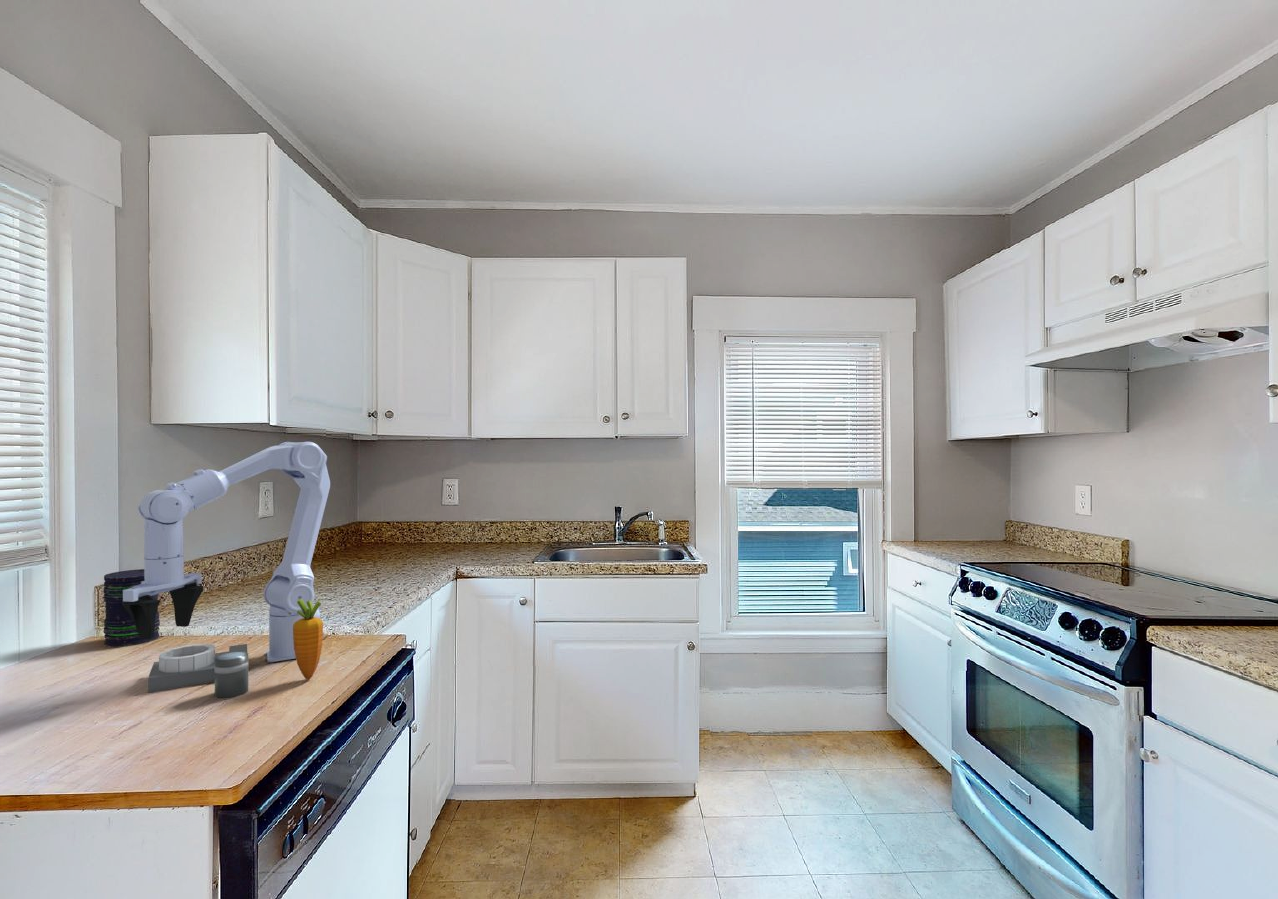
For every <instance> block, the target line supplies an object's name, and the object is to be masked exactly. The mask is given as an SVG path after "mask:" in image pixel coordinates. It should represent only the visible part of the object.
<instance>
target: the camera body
mask: <svg viewBox="0 0 1278 899" xmlns="http://www.w3.org/2000/svg"><path fill="white" fill-rule="evenodd" d="M228 647H229V648H228V649H229V650H228V651H223V652H216V645H214V644H210V643H197V644H196V643H194V644H190V645H189V644H188V645H181V646H177V647H176V646H175V647H174V648H169V649H166V650H165V651H162V652H160V653H159V655H158V661H154V662H153V664H152V667H151V669H150V672H149V675H148V677H147V693H153V692H160V691H165V690H173V689H179V688H184V687H191V686H196V685H202V684H210V683H215V672H214V665H215V660H214V659H215V657H217V656H219V655H222V654H225V653H230V652H247V653H248V643H244V644H237V645H230V646H228Z"/></svg>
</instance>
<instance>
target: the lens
mask: <svg viewBox="0 0 1278 899" xmlns="http://www.w3.org/2000/svg"><path fill="white" fill-rule="evenodd" d="M214 660H215V665H214V672H215V682H214V697H215V698H216V699H222V700H223V699H224V700H226V699H234V698H239V697H241V696H243V695H245V694H247V693H248V692H249V652H248V651H247V652H230V653H225V654H222V655H219V656H217V657H215V659H214Z"/></svg>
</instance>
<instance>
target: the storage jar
mask: <svg viewBox="0 0 1278 899" xmlns="http://www.w3.org/2000/svg"><path fill="white" fill-rule="evenodd" d="M103 580H104V581H103V588H102V589H103V590H102V591H103V592H102V593H103V602H104V603H105V618H104V620H103V625H104V627H103V634H104V635H103V636H104V639H105V640H104V646H105V645H106V647H108V646H110V648H123V647H124V646H125V647H133V646H138V645H143V644H147V643H150V642H153V641H156V640H157V639H159V638H160V633H159V630H160V624H161V622H160V612H159V610H158V609H159V608H158V609H157V612H156V617H155V632H154V637H153V638H152V639H140V637H139V634H138V631H137V629H136V626H135V623H134V621H133V619H132V617H131V616H130V614H129V613H128V611H127V610H126V609H125V608H124V607H123V605H122V600H123V590H126V589H129V588H132V587H135V586H137V585H140V584H141V582H142V581H145V569H144V568H143V569H141V568H140V569H129V570H121V571H116V572H111V573H106V574H104V576H103ZM159 595H160V594H156V595H152V596H150V598H152V600H159V597H158V596H159ZM155 639H156V640H155Z"/></svg>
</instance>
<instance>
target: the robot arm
mask: <svg viewBox="0 0 1278 899" xmlns="http://www.w3.org/2000/svg"><path fill="white" fill-rule="evenodd" d="M327 460H328V456H327V455H326V453H325V452H324V451H323V449H322V448H321V447H320V446H319V445H318V444H317V443H315V442H313V441H304V442H302V441H301V442H294V441H293V442H292V441H285V442H282V443H279V444H278V445H273V446H269V447H267V448H265V449H262V450H261V451H258V452H257V453H254V454H252V455H251V456H249V457H246V458H244V459H242V460H240V461H239V462H236V463H234V464H232V465H230V466H228V467H225V468H224V469H222V470H219V471H218V470H214V469H211V468H210V469H209V468H207V469H205V470H204V469H197V470H195V471H193V475H192V476H189V477H186V478H185V479H183V480H179V481H178V482H169V483H167V484H166V490H164V489H156V490H153V491H150V492H148V493H147V494H146V495H145V496H144V497H143V498H142V499H141V502H140V504H139V505H138V506H137V510H138V513H139V514H140V516H141V517H142V518H143V519H144V520H143V521H144V523H143V524H144V532H143V550H144V551H143V552H144V553H143V555H144V556H143V557H144V558H143V559H144V560H143V562H144V563H143V564H144V568H143V569H145V581H142V582H141V584H140V585H137V586H135V587H132V588H129V589H126V590H123V600H122V605H123V607H124V608H125V609H126V610H127V611H128V613H129V614H130V616H131V617H132V619H133V621H134V623H135V626H136V629H137V631H138V634H139V637H140V639H152V638H153V637H154V632H155V617H156V612H157V609H159V606H160V603H161V600H160V599H158V600H152V598H150V596H152V595H156V594H159V595H160V594H163V593H166V592H169V594H170V598H171V600H172V603H173V609H174V622H175V627H179V628H180V627H181V628H182V627H183V628H185V627H189V626H190V623H191V620H192V616H193V613H194V609H195V607H196V604H197V602H198V600H199V598H200V596H201V594H202V593H203V592H204V585H201V584H202V583H203V578H202V576H203V575H202V573H200V572H191V573H188V574H184V573H185V572H184V571H185V566H184V565H185V564H184V563H185V562H184V558H185V557H184V556H185V555H184V528H183V526H184V524H183V523H184V522H183V519H184V518H185V517H186V516H187V515H188V513H189V512H193V511H195V510H197V509H199V508H201V507H203V506H206V505H208V504H209V503H212V502H214V501H216V500H217V499H220V498H222V497H224V496H225V495H226V493H227V491H228V490H229V487H230V486H232V485H235V484H237V483H239V482H243V481H245V480H246V479H250V478H251V477H254V476H256V475H258V474H261V473H263V472H266V471H268V470H280V471H281V472H283V473H285V474H286V475H288V476H289V477H291V478H292V480H294V482H295V483H296V484H297V486H298V487H299V489H300V491H299V496H298V499H297V504H296V507H295V511H294V514H293V519H292V523H291V525H290V531H289V533H288V537H287V541H286V546H285V548H284V549H285V550H284V553H283V557H282V560H281V562H280V564H279V565H278V566H277V567H276V568H275V569H274V570H273V573H272V577H271V578H270V580H269V582H267V584H266V585H265V587H264V590H263V599H264V601H265V603H266V604H268V606H269V611H268V623H269V624H268V634H269V636H268V638H269V640H268V643H269V646H268V647H269V648H268V649H266V651H265V652H266V658H267V663H275V662H281V661H288V660H294V659H296V656H295V651H294V642H293V625H294V623H295V622H296V621H298V620H299V619H301V618H304V617H302V616H301V615H300V614H298V613H297V611H302V609H301V608H300V606H299V605H298V603H297V601H298V600H299V599H302V600H303V601H304V603H305V605H306V607H308V605H307V601H311V603H312V604H313V602H314V599H315V590H314V582H315V576H314V573H313V571H312V568H311V565H312V564H311V563H312V560H313V556H314V552H315V548H316V545H317V541H318V536H319V532H320V529H321V524H322V521H323V518H324V517H323V516H324V513H325V509H326V504H327V500H328V498H329V497H328V496H329V492H330V489H331V480H330V479H331V478H330V476H329V472H328V467H327ZM302 612H303V611H302ZM313 617H317V618H319V619H321V614H320V609H319V608H318V609H317V611H316V613H315V615H314V616H313Z"/></svg>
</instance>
